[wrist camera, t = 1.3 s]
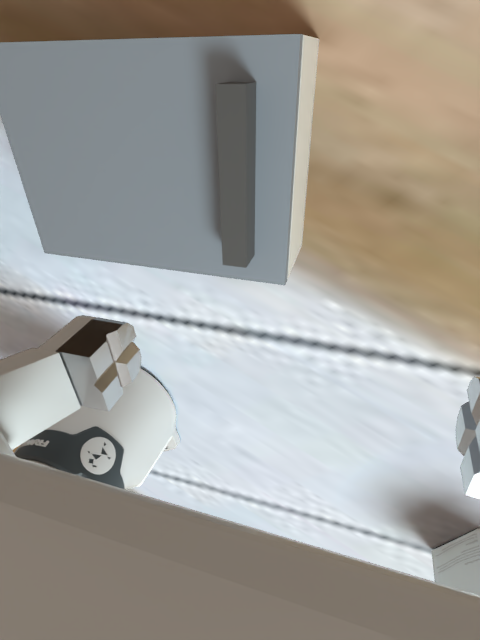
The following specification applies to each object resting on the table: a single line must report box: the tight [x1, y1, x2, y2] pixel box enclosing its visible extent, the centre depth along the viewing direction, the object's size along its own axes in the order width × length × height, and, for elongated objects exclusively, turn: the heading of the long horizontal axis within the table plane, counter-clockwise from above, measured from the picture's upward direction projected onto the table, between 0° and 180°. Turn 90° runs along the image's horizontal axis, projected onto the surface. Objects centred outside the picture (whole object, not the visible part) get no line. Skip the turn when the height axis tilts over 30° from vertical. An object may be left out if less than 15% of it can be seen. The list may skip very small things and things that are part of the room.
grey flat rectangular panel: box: [0, 34, 303, 285], centre depth 25 cm, size 20×14×3 cm
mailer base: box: [287, 35, 319, 278], centre depth 29 cm, size 20×14×6 cm
